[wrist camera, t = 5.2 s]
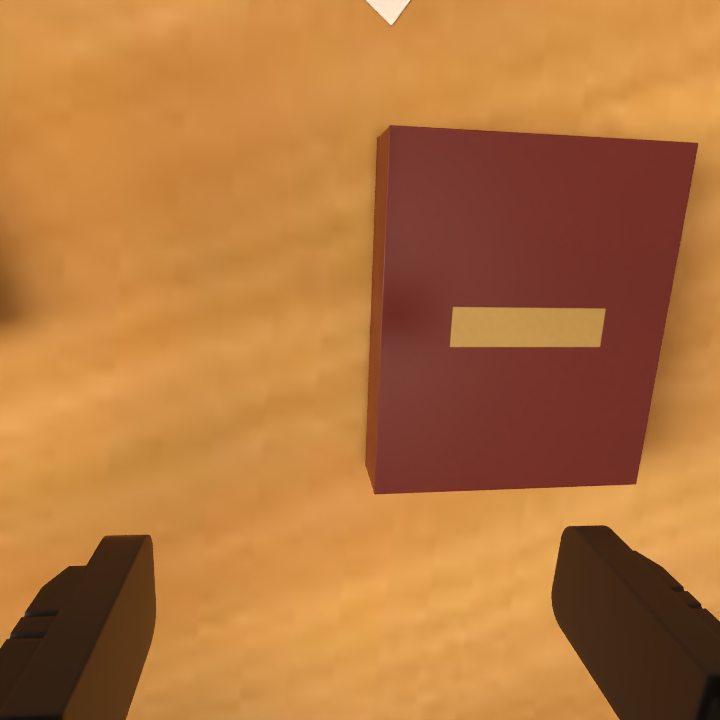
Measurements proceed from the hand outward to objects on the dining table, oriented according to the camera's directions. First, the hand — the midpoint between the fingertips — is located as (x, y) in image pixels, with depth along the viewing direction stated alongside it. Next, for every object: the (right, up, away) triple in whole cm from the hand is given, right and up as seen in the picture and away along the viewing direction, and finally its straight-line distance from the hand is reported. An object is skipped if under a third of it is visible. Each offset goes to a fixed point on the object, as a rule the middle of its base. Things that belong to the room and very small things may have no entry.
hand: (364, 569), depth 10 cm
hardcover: (+8, +7, +19) cm, 22 cm away
